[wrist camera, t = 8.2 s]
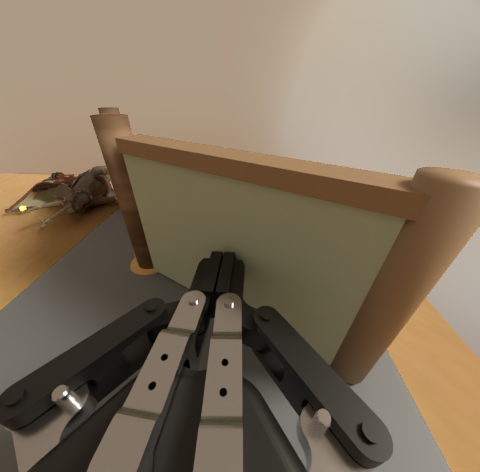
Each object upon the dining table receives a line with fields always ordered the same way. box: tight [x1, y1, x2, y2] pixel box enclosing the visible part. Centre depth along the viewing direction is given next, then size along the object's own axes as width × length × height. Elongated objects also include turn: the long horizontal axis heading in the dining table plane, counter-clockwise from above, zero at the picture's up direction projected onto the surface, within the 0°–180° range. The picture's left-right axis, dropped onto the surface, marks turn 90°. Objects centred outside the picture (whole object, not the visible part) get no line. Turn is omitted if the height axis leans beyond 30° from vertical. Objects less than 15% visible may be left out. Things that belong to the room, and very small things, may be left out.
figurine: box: [5, 166, 118, 231], centre depth 35 cm, size 20×6×17 cm
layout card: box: [0, 207, 452, 472], centre depth 22 cm, size 31×37×1 cm
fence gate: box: [115, 134, 480, 384], centre depth 15 cm, size 20×2×13 cm, turn 58°
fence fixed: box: [90, 108, 154, 269], centre depth 26 cm, size 20×2×14 cm, turn 28°
